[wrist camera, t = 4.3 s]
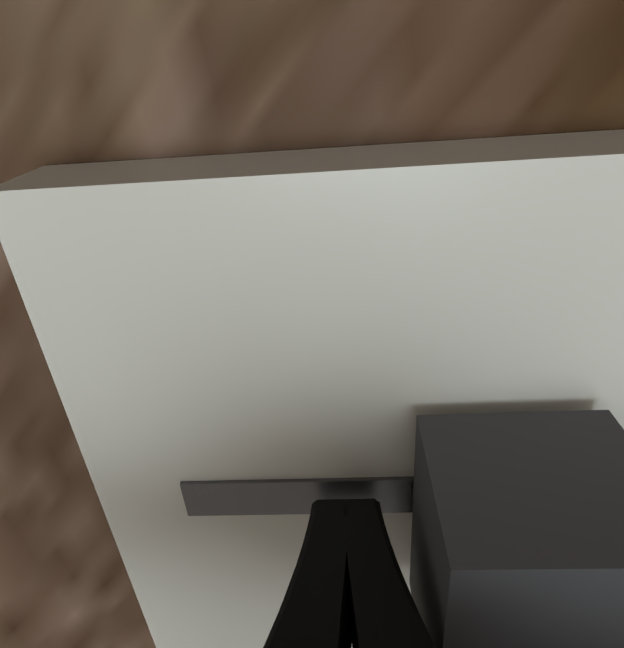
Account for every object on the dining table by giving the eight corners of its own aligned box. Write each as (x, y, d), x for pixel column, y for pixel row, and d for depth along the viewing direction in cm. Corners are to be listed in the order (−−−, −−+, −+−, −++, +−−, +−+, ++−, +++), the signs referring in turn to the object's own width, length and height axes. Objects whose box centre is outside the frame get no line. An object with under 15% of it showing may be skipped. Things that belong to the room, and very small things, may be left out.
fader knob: (561, 580, 12) (633, 748, 9) (409, 581, 12) (432, 746, 9) (609, 409, 9) (727, 567, 6) (416, 415, 10) (450, 569, 7)
